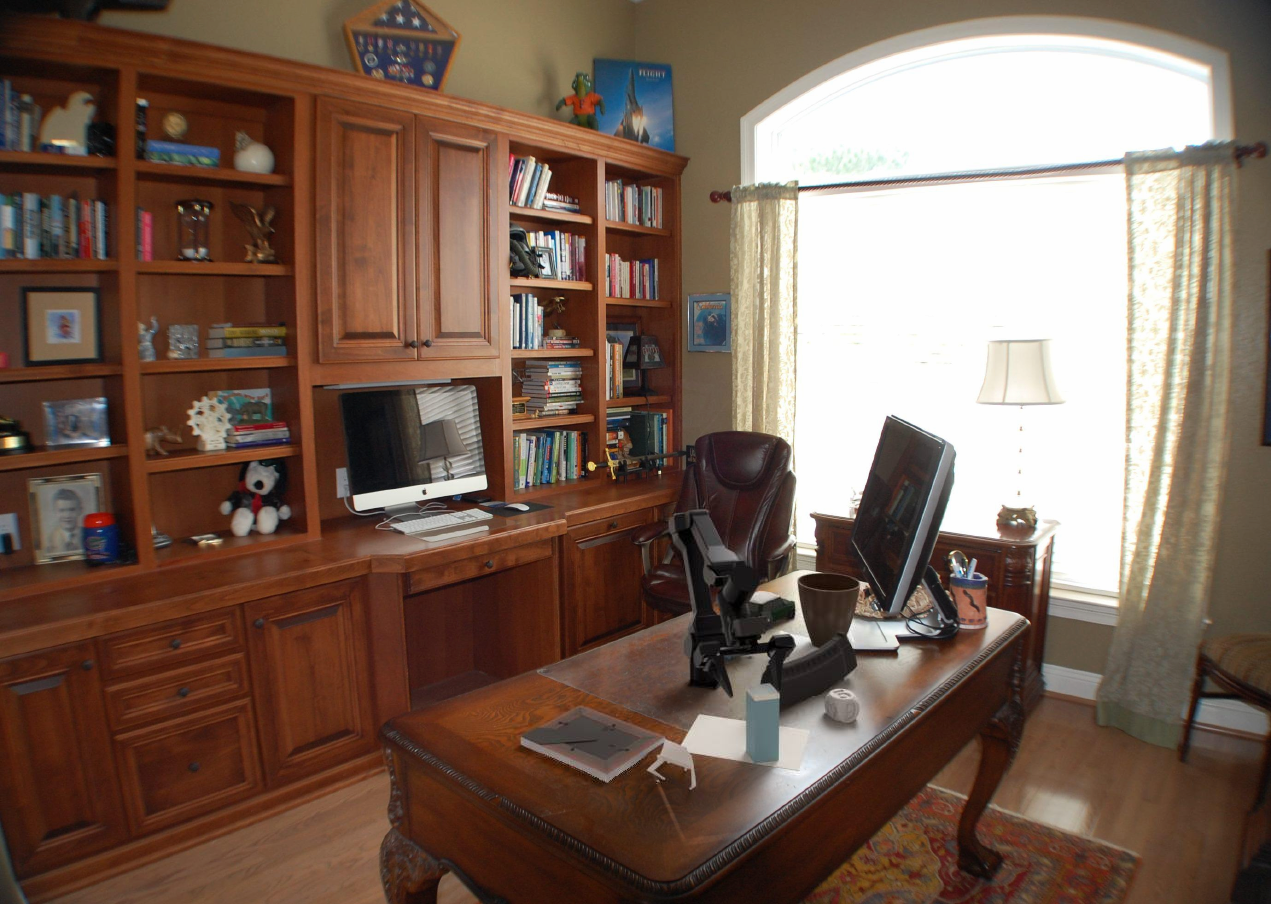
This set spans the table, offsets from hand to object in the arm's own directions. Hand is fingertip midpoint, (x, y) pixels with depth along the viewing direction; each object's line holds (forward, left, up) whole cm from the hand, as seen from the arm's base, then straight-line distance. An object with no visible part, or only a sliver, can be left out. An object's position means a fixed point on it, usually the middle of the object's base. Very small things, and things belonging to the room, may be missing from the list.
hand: (755, 694), depth 147 cm
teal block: (+2, -3, -10) cm, 11 cm away
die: (+14, +18, -11) cm, 25 cm away
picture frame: (-29, -7, -12) cm, 32 cm away
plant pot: (+7, +56, -11) cm, 57 cm away
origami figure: (-11, -15, -11) cm, 21 cm away
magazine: (+6, +25, -11) cm, 28 cm away
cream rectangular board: (-2, +2, -11) cm, 11 cm away
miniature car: (-11, +67, -11) cm, 69 cm away
